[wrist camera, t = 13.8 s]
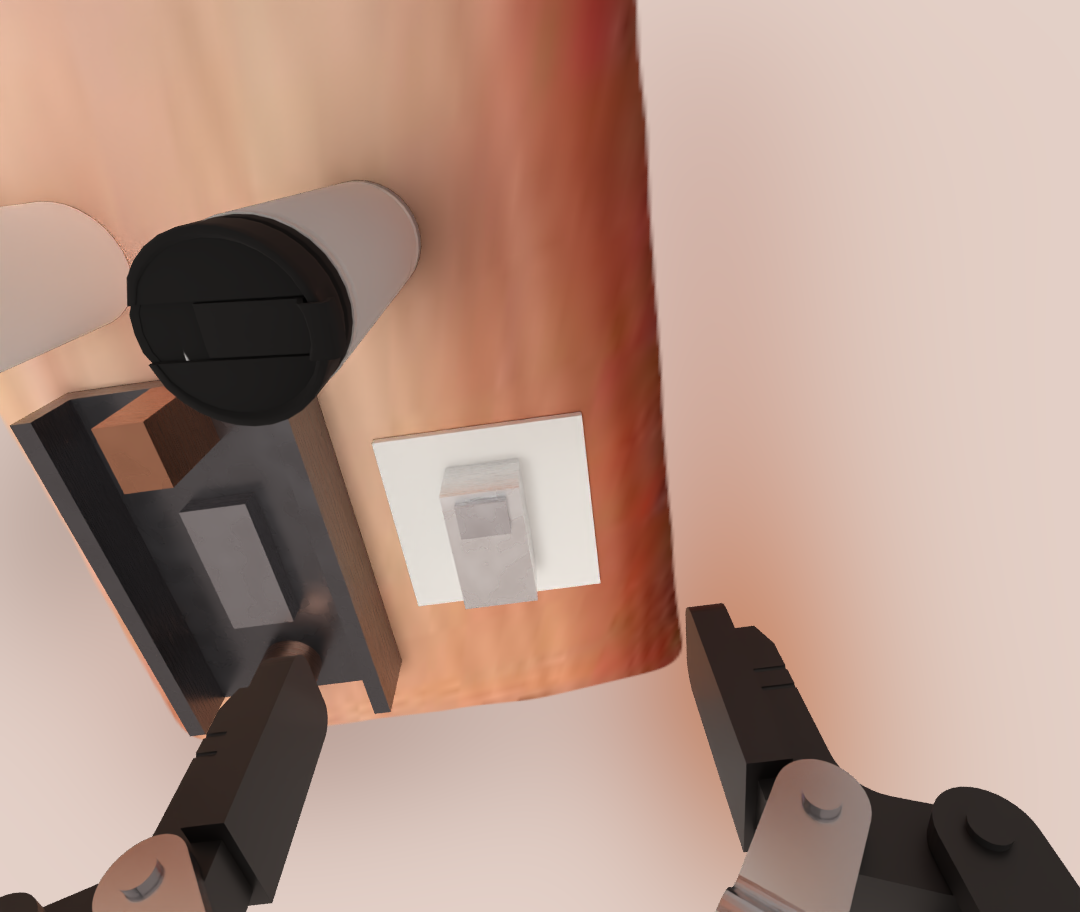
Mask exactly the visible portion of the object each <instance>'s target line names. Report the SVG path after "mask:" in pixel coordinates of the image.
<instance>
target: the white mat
mask: <svg viewBox="0 0 1080 912" xmlns="http://www.w3.org/2000/svg"><path fill="white" fill-rule="evenodd" d="M372 446H373V450H374V453H375V457H376V460H377V464H378V467H379V471H380V474H381V478H382V481H383V485H384V488H385V492H386V495H387V498H388V502H389V505H390V509H391V512H392V516H393V519H394V523H395V526H396V530H397V533H398V537H399V540H400V544H401V547H402V551H403V554H404V557H405V561H406V564H407V568H408V571H409V575H410V578H411V582H412V585H413V589H414V592H415V596H416V599H417V603H418V606H424V605H432V604H440V603H448V602H456V601H464V600H463V595H462V591H461V587H460V583H459V579H458V575H457V571H456V566H455V562H454V558H453V554H452V550H451V546H450V541H449V537H448V533H447V529H446V525H445V521H444V516H443V512H442V508H441V504H440V500H439V496H440V491H441V487H442V482H443V477H444V473H445V468H446V467H453V466H460V465H468V464H476V463H483V462H491V461H498V460H506V459H513V458H519V463H520V469H521V475H522V481H523V487H524V493H525V499H526V505H527V511H528V517H529V524H530V530H531V536H532V542H533V548H534V554H535V560H536V570H537V591H543V590H550V589H558V588H566V587H574V586H582V585H590V584H598V583H600V576H599V567H598V558H597V549H596V540H595V531H594V522H593V513H592V504H591V495H590V486H589V477H588V468H587V459H586V450H585V441H584V432H583V423H582V414H581V412H575V413H567V414H560V415H552V416H545V417H538V418H530V419H523V420H516V421H508V422H501V423H493V424H486V425H479V426H471V427H464V428H457V429H449V430H442V431H434V432H427V433H420V434H412V435H405V436H398V437H390V438H383V439H375V440H373V442H372Z"/></svg>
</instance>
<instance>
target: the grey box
mask: <svg viewBox="0 0 1080 912" xmlns="http://www.w3.org/2000/svg"><path fill="white" fill-rule="evenodd" d="M439 500H440V504H441V508H442V512H443V516H444V521H445V525H446V529H447V533H448V537H449V541H450V546H451V550H452V554H453V558H454V562H455V566H456V571H457V575H458V579H459V583H460V587H461V591H462V595H463V600H464V604H465V608H466V609H471V608H479V607H487V606H495V605H503V604H511V603H519V602H527V601H535V600H538V592H537V570H536V560H535V554H534V548H533V542H532V536H531V530H530V524H529V517H528V511H527V505H526V499H525V493H524V487H523V481H522V475H521V469H520V463H519V458H513V459H506V460H498V461H491V462H483V463H476V464H468V465H460V466H453V467H446V468H445V473H444V477H443V482H442V487H441V491H440V496H439Z"/></svg>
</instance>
